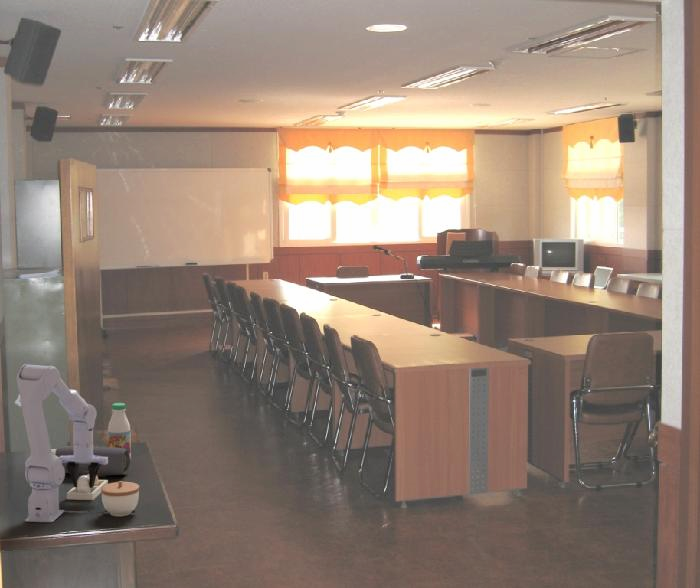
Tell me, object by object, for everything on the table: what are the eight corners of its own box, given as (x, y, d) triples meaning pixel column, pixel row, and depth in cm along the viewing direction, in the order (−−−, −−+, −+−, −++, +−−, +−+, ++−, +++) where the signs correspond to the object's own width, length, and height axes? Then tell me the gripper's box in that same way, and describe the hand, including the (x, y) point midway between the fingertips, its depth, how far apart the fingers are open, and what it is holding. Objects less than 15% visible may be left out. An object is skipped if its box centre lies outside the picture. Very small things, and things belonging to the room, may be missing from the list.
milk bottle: (107, 458, 339) (106, 402, 337) (129, 457, 341) (129, 401, 339) (108, 464, 332) (107, 406, 330) (131, 462, 334) (131, 405, 332)
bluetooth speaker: (131, 473, 321) (130, 444, 320) (121, 481, 312) (121, 451, 311) (64, 471, 324) (64, 441, 323) (53, 479, 314) (52, 448, 313)
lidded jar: (124, 504, 289) (123, 473, 288) (147, 512, 282) (146, 480, 281) (93, 513, 281) (93, 481, 280) (117, 521, 274) (116, 489, 273)
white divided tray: (93, 501, 291) (92, 493, 291) (67, 501, 292) (66, 492, 292) (107, 487, 305) (107, 480, 305) (83, 487, 306) (82, 479, 306)
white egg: (91, 493, 294) (91, 476, 293) (77, 494, 293) (77, 478, 292) (90, 489, 298) (90, 473, 297) (76, 490, 297) (76, 474, 296)
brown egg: (95, 491, 300) (95, 475, 299) (82, 491, 300) (82, 475, 299) (100, 487, 304) (100, 471, 303) (87, 487, 304) (86, 471, 304)
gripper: (110, 440, 297) (111, 483, 298) (64, 438, 298) (65, 482, 300) (103, 446, 290) (104, 490, 291) (56, 444, 291) (57, 488, 293)
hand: (84, 486), depth 295 cm, fingers open, 4 cm apart
